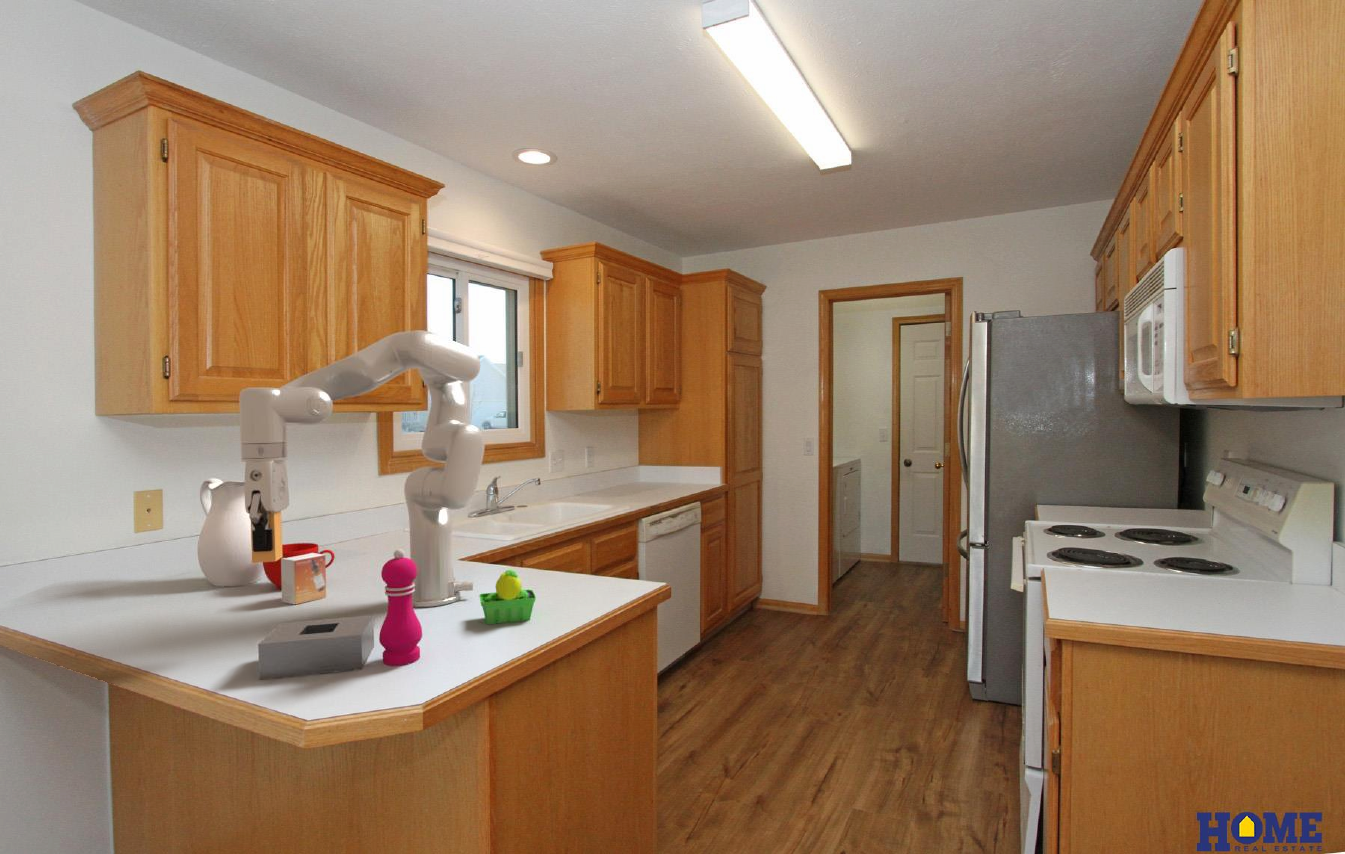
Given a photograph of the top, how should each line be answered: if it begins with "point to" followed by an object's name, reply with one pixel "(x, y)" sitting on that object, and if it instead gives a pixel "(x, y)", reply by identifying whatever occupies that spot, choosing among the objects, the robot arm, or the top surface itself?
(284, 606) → the top surface
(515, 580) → the fruit basket
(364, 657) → the socket block
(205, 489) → the pitcher
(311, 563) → the small box
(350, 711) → the top surface
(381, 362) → the robot arm
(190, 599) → the top surface
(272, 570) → the ceramic cup
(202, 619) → the top surface
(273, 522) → the wedge peg
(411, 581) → the pepper mill
